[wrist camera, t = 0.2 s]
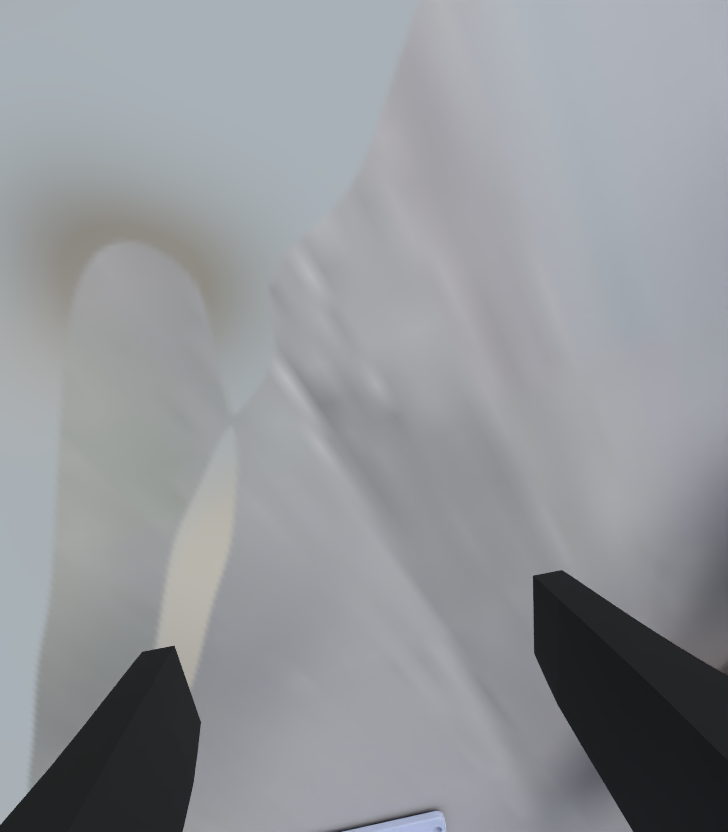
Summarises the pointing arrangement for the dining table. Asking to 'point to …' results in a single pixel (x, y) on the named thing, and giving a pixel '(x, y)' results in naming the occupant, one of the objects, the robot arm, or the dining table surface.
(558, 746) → the dining table surface
